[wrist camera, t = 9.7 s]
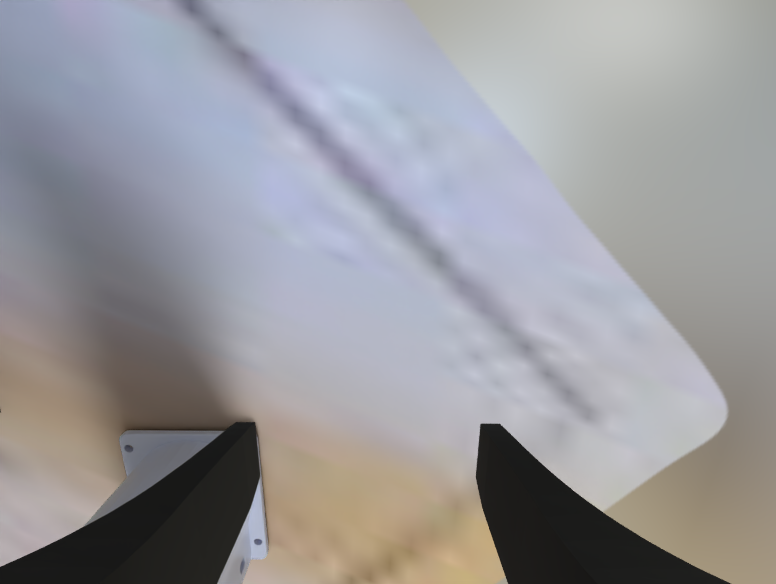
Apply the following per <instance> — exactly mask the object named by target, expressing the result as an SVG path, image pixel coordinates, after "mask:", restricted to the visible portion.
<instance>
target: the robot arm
mask: <svg viewBox="0 0 776 584" xmlns="http://www.w3.org/2000/svg"><path fill="white" fill-rule="evenodd" d="M119 442H120V447H121V452H122V456H123V461H124V466H125V470H126V475H127V478H126V479H125V480H124V481H123V482H122V483H121V485H120V486H119V487H118V488H117V489H116V490H115V491H114V493H113V494H112V495H111V496H110V497H109V498H108V499H107V501H106V502H105V503H104V504H103V505H102V506H101V507H100V508H99V510H98V511H97V512H96V513H95V514H94V515H93V516H92V518H91V519H90V520H89V521H88V522H87V523H86V524H85V526H84V527H82V528H80V529H79V530H77V531H75V532H73V533H71V534H69V535H67V536H65V537H64V538H62V539H59V540H57V541H55V542H53V543H51V544H49V545H47V546H45V547H43V548H41V549H39V550H37V551H35V552H32V553H30V554H28V555H26V556H24V557H22V558H19V559H17V560H15V561H13V562H10V563H8V564H6V565H4V566H1V567H0V584H242V583H243V580H244V577H245V574H246V571H247V569H248V566H249V563H250V560H251V559H264V558H265V557H266V556H267V554H268V550H269V548H268V538H267V527H266V517H265V507H264V497H263V486H262V476H261V466H260V455H259V445H258V437H257V435H256V425H255V422H236V423H234V424H233V425H232V426H230V427H229V428H228V429H226V430H225V431H171V430H128V431H125V432H124V433H123V434H122V435H121V436H120V438H119ZM129 445H131V446H132V447H133V448H132V447H130V446H129ZM476 480H477V485H478V490H479V495H480V499H481V503H482V508H483V511H484V514H485V517H486V520H487V523H488V526H489V529H490V532H491V535H492V538H493V541H494V544H495V547H496V550H497V553H498V556H499V558H500V561H501V564H502V567H503V570H504V573H505V576H506V579H507V582H508V584H730V583H728V582H726V581H724V580H722V579H720V578H718V577H716V576H713V575H711V574H709V573H707V572H705V571H703V570H701V569H699V568H697V567H695V566H693V565H691V564H689V563H687V562H685V561H683V560H681V559H680V558H677V557H676V556H674V555H672V554H670V553H668V552H666V551H665V550H663V549H661V548H659V547H657V546H656V545H654V544H652V543H651V542H649V541H647V540H645V539H644V538H642V537H640V536H639V535H637V534H636V533H634V532H632V531H631V530H629V529H627V528H625V527H624V526H622V525H621V524H619V523H618V522H616V521H615V520H613V519H612V518H610V517H609V516H607V515H606V514H604V513H603V512H602V511H600V510H599V509H597V508H596V507H595V506H593V505H592V504H590V503H589V502H588V501H586V500H585V499H583V498H582V497H581V496H580V495H578V494H577V493H576V492H574V491H573V490H572V489H571V488H569V487H568V486H567V485H566V484H565V483H563V482H562V481H561V480H560V479H558V478H557V477H556V476H555V475H554V474H553V473H551V472H550V471H549V470H548V469H547V468H546V467H545V466H543V465H542V464H541V463H540V462H539V461H538V460H537V459H536V458H535V457H534V456H533V455H531V454H530V453H529V452H528V451H527V450H526V449H525V448H524V447H523V446H522V445H521V444H520V443H519V442H518V441H517V440H516V439H515V438H514V437H513V436H512V435H511V434H510V433H509V432H508V431H507V430H506V429H505V428H504V427H503V426H501V425H500V424H481V425H480V436H479V447H478V459H477V470H476Z"/></svg>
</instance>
